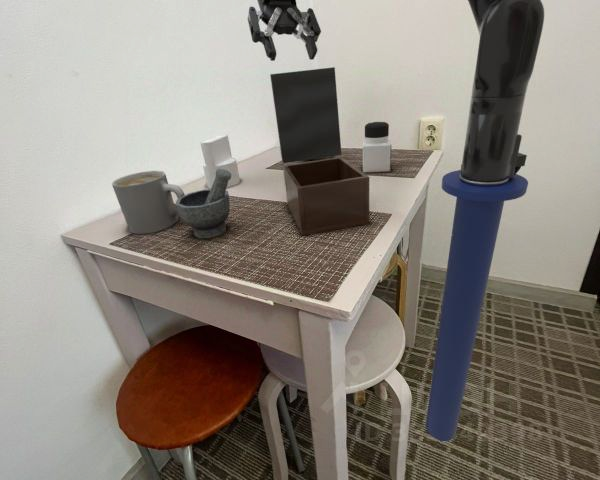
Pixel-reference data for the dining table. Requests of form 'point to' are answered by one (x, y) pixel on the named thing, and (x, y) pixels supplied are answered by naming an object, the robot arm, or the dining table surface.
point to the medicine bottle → (376, 148)
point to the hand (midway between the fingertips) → (294, 57)
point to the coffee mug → (147, 201)
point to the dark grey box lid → (306, 114)
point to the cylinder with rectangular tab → (219, 159)
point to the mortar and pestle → (207, 207)
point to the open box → (326, 195)
